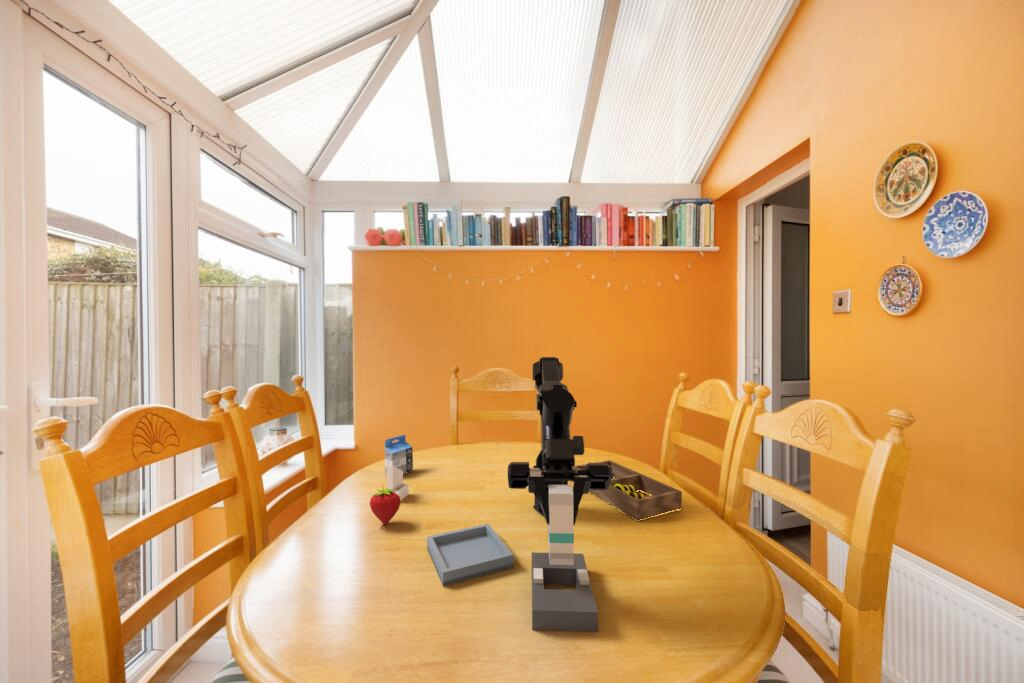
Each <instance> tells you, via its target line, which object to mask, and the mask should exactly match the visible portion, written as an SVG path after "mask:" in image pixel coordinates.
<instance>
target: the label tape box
mask: <svg viewBox="0 0 1024 683" xmlns="http://www.w3.org/2000/svg"><path fill="white" fill-rule="evenodd" d="M406 436H407V434H402V435H398V436H395V437H390V438H386V439H384V468H385V469H384V470H385V471H384V472H385V473H384V476H385V475H387V465H388V466H394V467H396V468H398V469H400V470H402V471H403V473H406V472H409V471H411V472H413V471H414V468H413V467H414V461H413V460H414V457H413V446H412V445H410V443H408V442H407V441H406ZM412 470H413V471H412ZM409 473H410V472H409ZM406 474H407V473H406Z"/></svg>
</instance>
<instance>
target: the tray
mask: <svg viewBox="0 0 1024 683" xmlns="http://www.w3.org/2000/svg"><path fill="white" fill-rule="evenodd" d="M426 549H427V552H428V554H429V556H430V558H431V561H432V563H433V565H434V569H435V571H436V573H437V575H438V578H439V579H440V580H439V581H440V582H441V585H442V586H443V587H446V586H449V585H453V584H457V583H460V582H465V581H469V580H472V579H475V578H480V577H483V576H486V575H491V574H494V573H498V572H502V571H505V570H508V569H512V568H514V564H515V563H514V553H512V551H511V549H510V548H509V547H508V546H507V544H506V543H505V542H504V541H503V540H502V538H501V537H500V536H499V535H498V534H497V532H496V531H495V530H494V529H493V528H492V527H491V525H490V524H489V523H484V524H480V525H476V526H475V525H474V526H469V527H465V528H460V529H457V530H451V531H448V532H446V531H445V532H442V533H438V534H434V535H428V536H426Z"/></svg>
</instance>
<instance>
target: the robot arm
mask: <svg viewBox="0 0 1024 683" xmlns="http://www.w3.org/2000/svg"><path fill="white" fill-rule="evenodd" d="M559 360H560V359H559V357H556V356H542V357H539V360H537V361H536V362H534V363H532V372H531V373H532V376H531V377H532V381H534V388H535V391H537V393H536V396H535V397H536V399H535V400H536V403H535V405H536V411H539V415H540V437H541V438H540V439H541V440H540V441H541V443H540V444H541V445H540V446H541V450H540V451H539V453H538V454H537V457H536V458H535V465H533V467H530V462H529V461H528V462H527V461H510V462H509V464H507V483H508V488H510V489H512V490H513V489H514V490H515V489H517V490H518V489H519V490H520V489H521V490H526V489H528V490H527V491H528V494H529V493H530V494H534V505H532V506H533V507H532V508H533V509H534V510H535V511H536V512H538V513H539V514H540V515H541V516H542V517H544V519H545V523H546V524H547V525H548V524H549V507H548V485H569V482H572V481H574V483H573V485H572V487H573V488H572V491H573V526H575V525H576V521H577V517H578V511H579V507H580V503H581V501H582V499H583V496H584V495H587V494H590V493H589V489H591V490H606V489H608V488H609V485H610V482H611V479H612V473H611V468H610V466H609V465H608V464H607V463H596V462H587V464H588V466H587V470H573V466H576V461H575V459H576V458H575V456H584V454H585V441H584V436H583V435H573V436H572V438H571V428H570V425H571V423H572V418H573V414H574V413H573V412H574V410H575V408H578V407H577V405H578V404H577V400H576V399H575V397H574V396H573V394H571V392H570V391H569V389H568V386H567V385H565V384H564V383H562V382H561V381H563V379H564V364H563V363H562V362H561V361H559Z"/></svg>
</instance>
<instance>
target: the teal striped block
mask: <svg viewBox="0 0 1024 683" xmlns="http://www.w3.org/2000/svg"><path fill="white" fill-rule="evenodd" d="M572 487H573V486H572V485H571V484H568V485H548V507H549V524H547V531H548V532H547V533H548V538H547V539H548V553H549V562H550V565H574V544H575V542H574V541H575V533H574V525H573V488H572Z"/></svg>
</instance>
